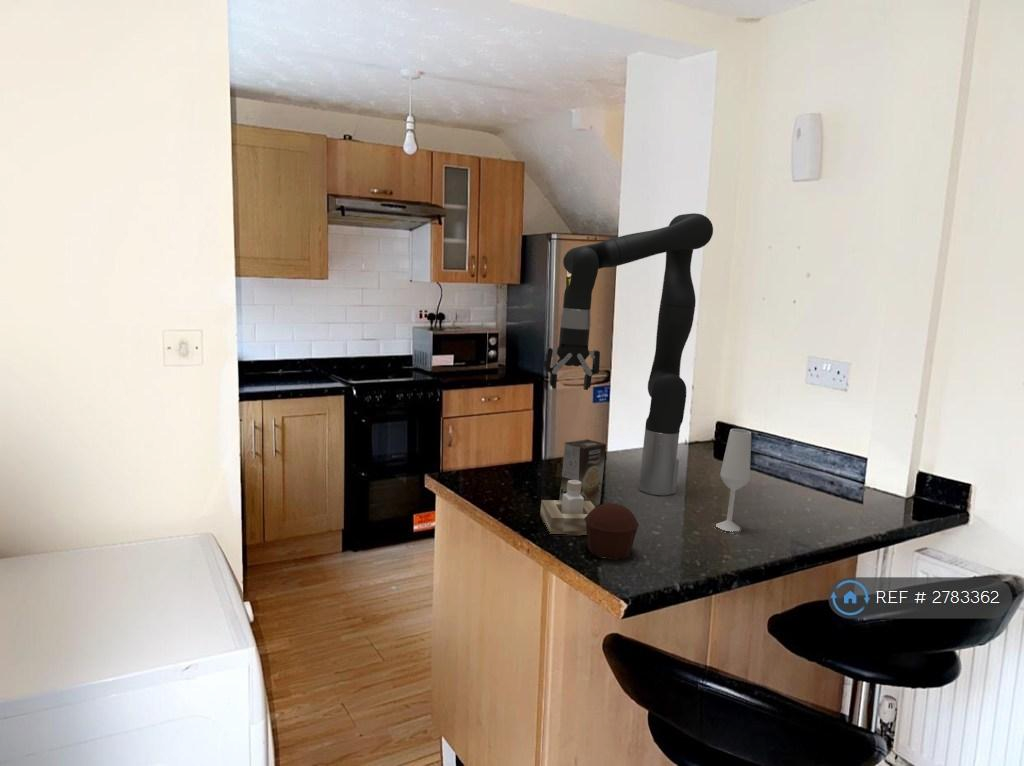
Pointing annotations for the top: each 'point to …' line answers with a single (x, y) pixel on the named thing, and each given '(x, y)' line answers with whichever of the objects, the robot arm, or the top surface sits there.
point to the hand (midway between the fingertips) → (569, 388)
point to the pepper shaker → (572, 498)
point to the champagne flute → (735, 470)
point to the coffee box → (584, 468)
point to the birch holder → (564, 518)
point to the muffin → (611, 530)
